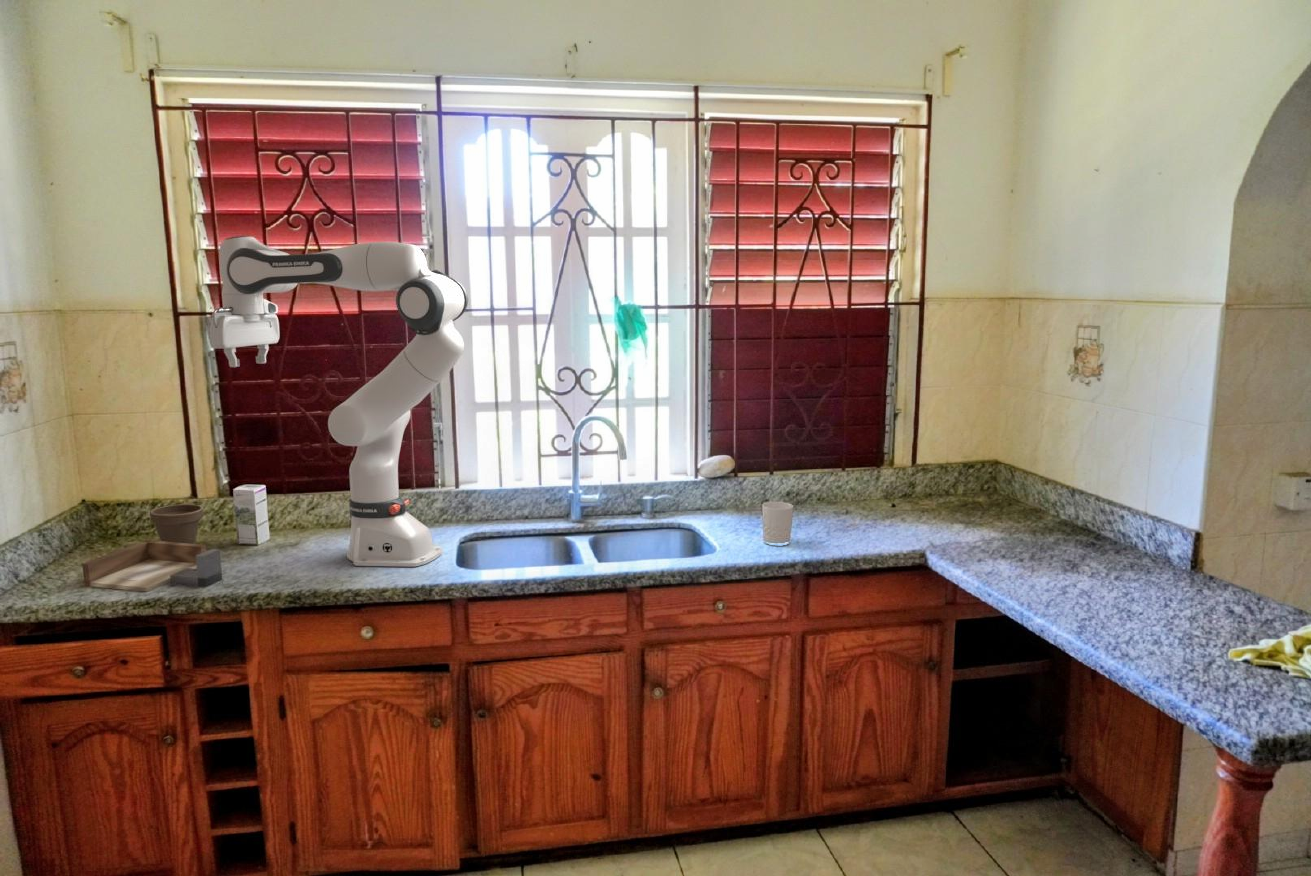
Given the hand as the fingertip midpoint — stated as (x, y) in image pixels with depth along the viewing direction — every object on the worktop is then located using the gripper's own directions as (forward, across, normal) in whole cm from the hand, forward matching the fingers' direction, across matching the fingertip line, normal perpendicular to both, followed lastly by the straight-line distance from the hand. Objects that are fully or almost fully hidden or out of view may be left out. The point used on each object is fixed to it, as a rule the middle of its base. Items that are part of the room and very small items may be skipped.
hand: (248, 365), depth 207 cm
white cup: (+46, +37, -124) cm, 137 cm away
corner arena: (+46, -24, +12) cm, 53 cm away
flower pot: (+46, -4, +20) cm, 50 cm away
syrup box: (+46, +5, +6) cm, 46 cm away
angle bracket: (+46, -24, -2) cm, 52 cm away
